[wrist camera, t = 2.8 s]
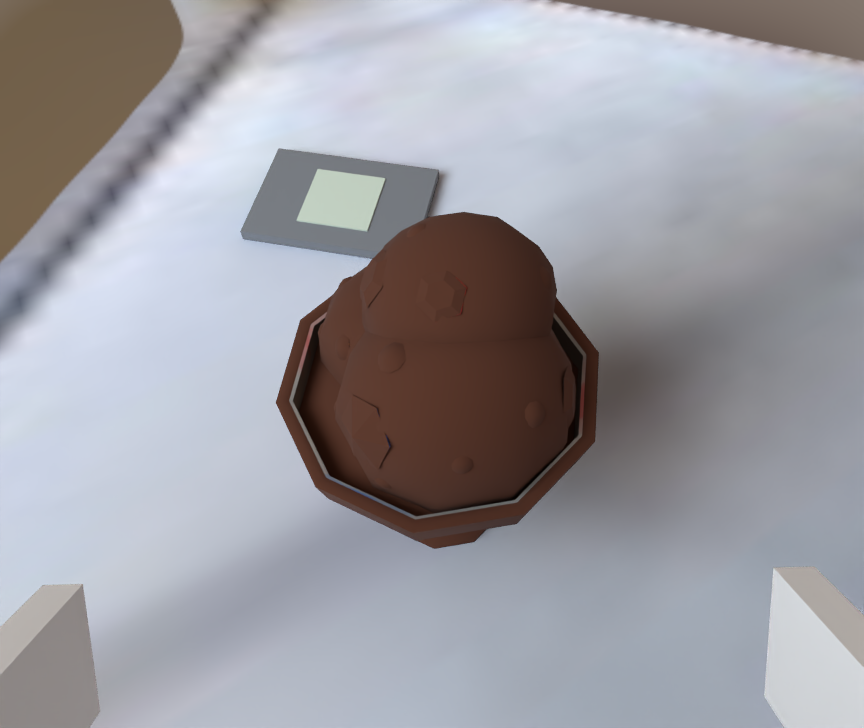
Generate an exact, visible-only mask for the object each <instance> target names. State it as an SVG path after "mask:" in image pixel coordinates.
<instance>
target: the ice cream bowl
mask: <svg viewBox="0 0 864 728" xmlns="http://www.w3.org/2000/svg"><path fill="white" fill-rule="evenodd" d="M556 292H557V289H556V283H555V278H554V272H553V267H552V265H551V264H550V262H549V261H548V259H547V258H546V256H545V255H544V253H543V252H542V250H541V249H540V247H539V246H538V245H536V244H535V243H534V242H532V241H531V240H530V239H528V238H527V237H525V236H524V235H523V234H521V233H520V232H519V231H517V230H516V229H515V228H513V227H512V226H510V225H509V224H507V223H506V222H504V221H503V220H501V219H500V218H498V217H494V216H487V215H480V214H474V213H467V212H461V213H453V214H446V215H439V216H433V217H428V218H426V219H424V220H422V221H420V222H418V223H416V224H414V225H412V226H410V227H408V228H406V229H404V230H402V231H400V232H399V233H398V234H397V235H396V236H395V237H394V238H392V239H391V240H390V241H389V242H388V243H387V244H386V245H384V247H383V249H382V250H381V251H380V252H379V253H378V254H377V255H376V256H375V257H374V258H373V259H372V260H371V262H370V263H369V265H368V266H367V267H365V268H364V269H363V270H361V271H360V272H358V273H357V274H356V275H354V276H353V277H348V278H346V279H343V280H342V282H341V283H340V285H339V288H338V289H337V290H336V292H335V293H334V294H333V295H332V296H331V297H330V298H328V299H327V300H326V301H324V302H323V303H322V304H320V305H319V306H318V307H317V308H315V309H314V310H313V311H311V312H310V313H309V314H307V315H306V316H305V317H304V318H302V319H301V320H300V323H299V326H298V330H297V333H296V337H295V340H294V343H293V347H292V350H291V353H290V357H289V360H288V364H287V367H286V370H285V374H284V377H283V380H282V384H281V387H280V391H279V394H278V397H277V401H276V404H277V406H278V408H279V410H280V413H281V415H282V417H283V419H284V421H285V423H286V425H287V427H288V429H289V432H290V434H291V436H292V438H293V440H294V442H295V444H296V446H297V449H298V451H299V453H300V455H301V457H302V459H303V461H304V463H305V466H306V468H307V470H308V472H309V474H310V476H311V478H312V480H313V482H314V485H315V487H316V488H317V489H318V490H320V491H321V492H322V493H323V494H324V495H325V496H326V497H327V498H328V499H330V500H332V501H334V502H336V503H339V504H341V505H343V506H345V507H347V508H349V509H351V510H353V511H355V512H357V513H359V514H362V515H364V516H366V517H368V518H370V519H372V520H374V521H376V522H378V523H380V524H383V525H385V526H387V527H389V528H391V529H393V530H395V531H397V532H399V533H401V534H403V535H406V536H408V537H410V538H412V539H414V540H416V541H419V542H421V543H423V544H425V545H427V546H429V547H432V548H434V549H435V548H441V547H447V546H453V545H459V544H465V543H471V542H474V541H475V540H476V539H477V538H478V537H479V536H480V535H481V534H482V533H483V532H484V531H485V530H486V529H489V528H495V527H501V526H507V525H513V524H517V523H518V522H519V521H520V520H521V519H522V518H523V517H524V516H525V515H526V514H527V513H528V512H529V511H530V510H531V508H532V507H533V506H534V505H535V504H536V503H537V502H538V501H539V500H540V499H541V498H542V497H543V496H544V495H545V494H546V493H547V492H548V491H549V490H550V489H551V488H552V487H553V486H554V485H555V484H556V483H557V481H558V480H559V479H560V478H561V477H562V476H563V475H564V474H565V473H566V472H567V471H568V470H569V469H570V468H571V467H572V466H573V465H574V464H575V463H576V462H577V461H578V460H579V459H580V458H581V456H582V455H583V454H584V453H585V452H586V451H587V450H588V449H589V448H590V446H591V445H592V444H593V443H594V442H595V430H596V406H597V383H598V359H599V352H598V351H597V350H596V348H595V347H594V346H593V344H592V343H591V342H590V341H589V339H588V338H587V337H586V335H585V334H584V333H583V331H582V330H581V329H580V328H579V326H578V325H577V324H576V322H575V321H574V320H573V318H572V317H571V316H570V315H569V313H568V312H567V311H566V309H565V308H564V307H563V305H562V304H561V303H560V302H559V300H558V299H557V298H556Z"/></svg>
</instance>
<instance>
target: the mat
mask: <svg viewBox="0 0 864 728" xmlns="http://www.w3.org/2000/svg"><path fill="white" fill-rule="evenodd" d="M438 179H439V170H435V169H428V168H420V167H413V166H405V165H398V164H390V163H383V162H376V161H368V160H361V159H353V158H346V157H338V156H331V155H323V154H316V153H309V152H301V151H294V150H286V149H278V151H277V153H276V156H275V158H274V160H273V162H272V164H271V166H270V169H269V171H268V173H267V175H266V177H265V179H264V182H263V184H262V186H261V188H260V190H259V192H258V195H257V197H256V199H255V201H254V203H253V205H252V208H251V210H250V212H249V214H248V216H247V218H246V221H245V223H244V225H243V227H242V229H241V231H240V232H241V234H242V237H243V239H247V240H254V241H260V242H267V243H273V244H280V245H287V246H293V247H300V248H306V249H313V250H319V251H326V252H333V253H339V254H346V255H352V256H359V257H365V258H372V259H373V258H374V257H375V256H376V255H377V254H378V253H379V252H380V251H381V250H382V249H383V247H384V245H386V244H387V243H388V242H389V241H390V240H391V239H392V238H394V237H395V236H396V235H397V234H398V233H399V232H400V231H402V230H404V229H406V228H408V227H410V226H412V225H414V224H416V223H418V222H420V221H422V220H424V219H426V218H427V216H428V212H429V209H430V206H431V202H432V199H433V195H434V192H435V189H436V185H437V182H438Z"/></svg>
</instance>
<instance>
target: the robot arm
mask: <svg viewBox="0 0 864 728" xmlns="http://www.w3.org/2000/svg"><path fill="white" fill-rule="evenodd" d="M764 697H765V698H766V700H767V702H768V703H769V705H770V706H771V708H772V709H773V711H774V712H775V714H776V715H777V717H778V718H779V720H780V722H781V723H782V725H783V726H784V728H864V615H863V614H862V613H861V612H860V611H859V610H858V609H857V608H856V607H855V606H854V605H853V604H852V603H851V602H850V601H849V600H848V599H847V598H846V597H845V596H844V595H842V594H841V593H840V592H839V591H838V590H837V589H836V588H835V587H834V586H833V585H832V584H831V583H830V582H829V581H828V580H827V579H826V578H825V577H824V576H823V575H822V574H821V573H820V572H819V571H818V570H817V569H816V568H815V567H779V568H773V582H772V596H771V610H770V624H769V638H768V652H767V666H766V680H765V693H764ZM99 712H100V705H99V698H98V691H97V684H96V676H95V669H94V662H93V655H92V648H91V640H90V633H89V626H88V619H87V611H86V604H85V597H84V590H83V584H71V585H43V586H42V587H41V588H40V589H39V590H38V591H37V592H35V593H34V594H33V595H32V596H31V597H30V598H29V599H28V600H27V601H26V602H25V603H24V604H23V605H22V606H21V607H20V608H19V609H18V610H17V611H16V612H15V613H14V614H13V615H12V616H11V617H10V618H9V619H8V620H7V621H6V622H5V623H4V624H3V625H2V626H1V627H0V728H90V726H91V725H92V723H93V722H94V720H95V719H96V717H97V716H98V714H99Z"/></svg>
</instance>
